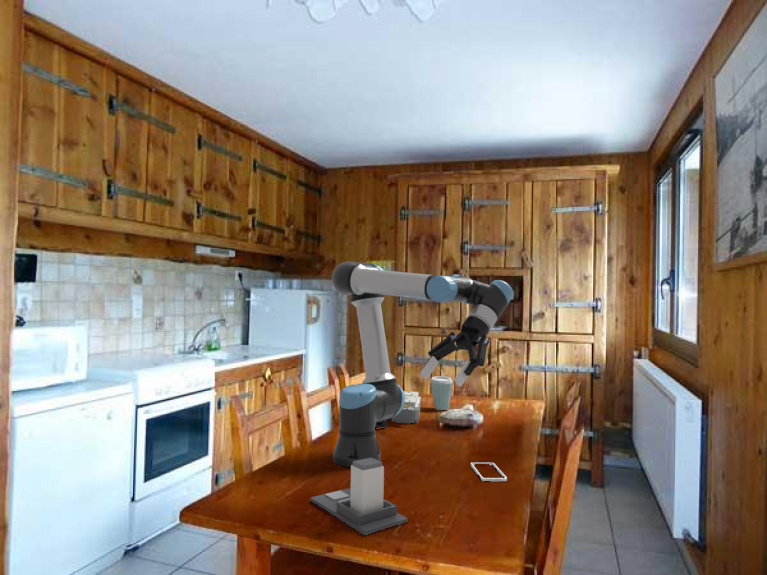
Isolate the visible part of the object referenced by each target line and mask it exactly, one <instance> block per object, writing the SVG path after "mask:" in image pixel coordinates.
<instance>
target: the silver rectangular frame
mask: <svg viewBox="0 0 767 575" xmlns="http://www.w3.org/2000/svg"><path fill="white" fill-rule="evenodd" d="M476 464H478V465H479V464H482V465H484V464H487V465H488V464H489V466H492V465H493V466H492V467H493V468H496V469H497V470H496V469H495V470H496V471H497V472H498V473H499V474H500V475H501V476H502V477H483V476H482V475H481V473H480V472H479V470H478V469H477V468H476V467H475V465H476ZM470 467H471V468H472V470H473V471H474V472H475V474H476V475H478V476H479V478H480V480H481V482H484V481H490V482H507V481H508V477H507V476H506V475H505V474H504V472H503V471H502V470H501V469H500V468H499V467H498V466H497V465H496V463H494V462H470ZM503 477H504V478H503Z"/></svg>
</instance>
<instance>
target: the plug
mask: <svg viewBox="0 0 767 575" xmlns="http://www.w3.org/2000/svg"><path fill="white" fill-rule="evenodd" d="M384 475H385V467H384V465H383V462H382V460H380V461H378V460H376V459H374V458H367V459H362V460H357V461H353V465H351V467H350V488H351V494H350V508H351V509H352V510H354V511H356V512H357V513H359V514H364V513H367V512H371V511H374V510H378V509H382V508H383V499H384V494H385V493H384V486H385V485H384V483H385V482H384V481H385V478H384V477H385V476H384Z"/></svg>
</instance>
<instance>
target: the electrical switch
mask: <svg viewBox="0 0 767 575" xmlns="http://www.w3.org/2000/svg"><path fill="white" fill-rule="evenodd" d="M387 424H388V419H385V420H382V421H379V422H376V425H375V427H376V428H379V427H380V428H381V427H385V428H386V429H387Z"/></svg>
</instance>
